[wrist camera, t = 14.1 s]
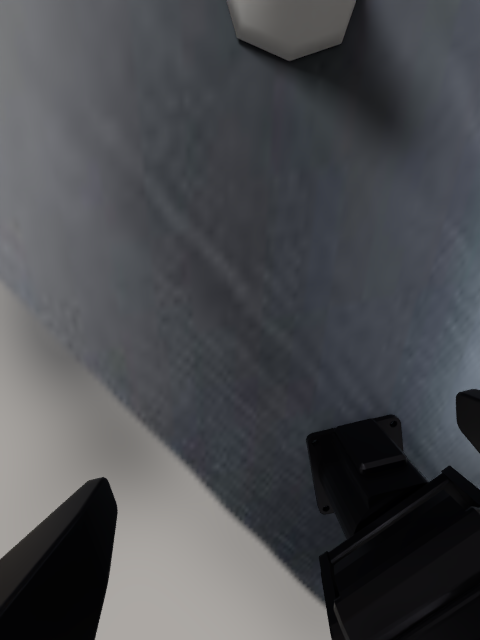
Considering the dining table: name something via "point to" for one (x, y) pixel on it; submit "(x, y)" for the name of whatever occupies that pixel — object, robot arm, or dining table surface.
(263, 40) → the flask
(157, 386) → the dining table surface
